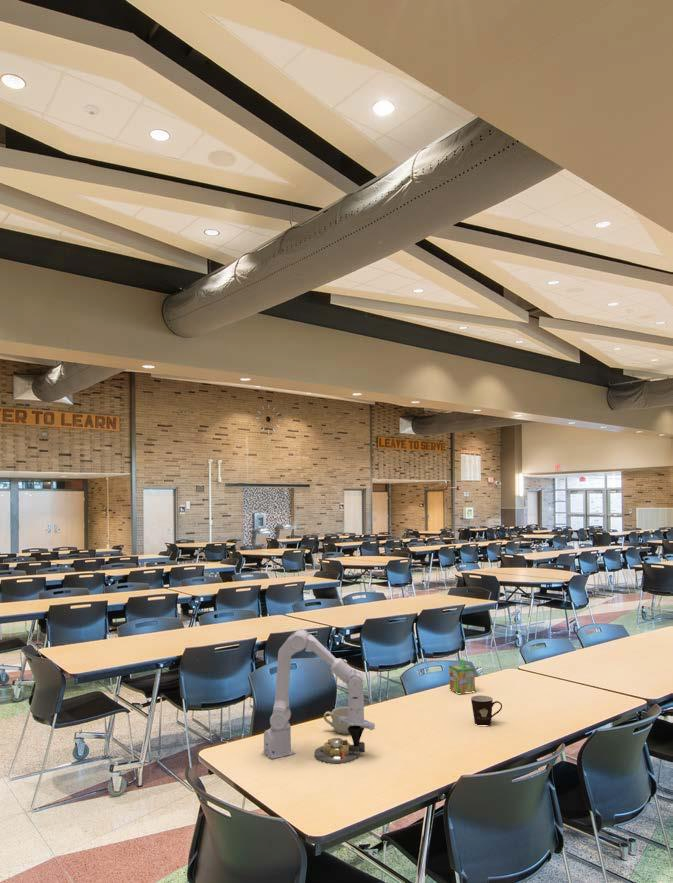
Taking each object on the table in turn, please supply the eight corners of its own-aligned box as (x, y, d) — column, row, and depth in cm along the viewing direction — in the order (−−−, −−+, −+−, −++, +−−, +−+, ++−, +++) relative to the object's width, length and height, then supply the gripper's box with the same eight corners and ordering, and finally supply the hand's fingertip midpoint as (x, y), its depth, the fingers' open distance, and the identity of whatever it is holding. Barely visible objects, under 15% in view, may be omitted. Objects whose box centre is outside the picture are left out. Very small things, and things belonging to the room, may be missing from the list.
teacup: (362, 728, 260) (361, 707, 261) (355, 737, 250) (355, 715, 251) (328, 725, 264) (328, 705, 265) (321, 734, 253) (320, 713, 254)
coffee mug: (469, 725, 260) (468, 700, 261) (475, 719, 267) (474, 694, 269) (498, 729, 255) (497, 703, 256) (503, 723, 262) (502, 697, 263)
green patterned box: (449, 690, 312) (448, 658, 313) (466, 688, 314) (465, 656, 316) (458, 695, 303) (457, 662, 304) (476, 693, 306) (474, 660, 307)
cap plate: (327, 767, 221) (327, 751, 222) (306, 752, 235) (306, 737, 235) (367, 757, 229) (367, 742, 229) (345, 744, 243) (344, 729, 243)
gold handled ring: (322, 755, 228) (321, 746, 228) (326, 746, 237) (325, 737, 237) (363, 757, 226) (363, 747, 226) (366, 747, 235) (365, 738, 235)
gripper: (333, 707, 235) (333, 746, 234) (366, 714, 227) (367, 754, 226) (344, 702, 241) (345, 740, 240) (377, 708, 233) (378, 748, 231)
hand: (356, 747), depth 233 cm, fingers closed, pressing on gold handled ring
